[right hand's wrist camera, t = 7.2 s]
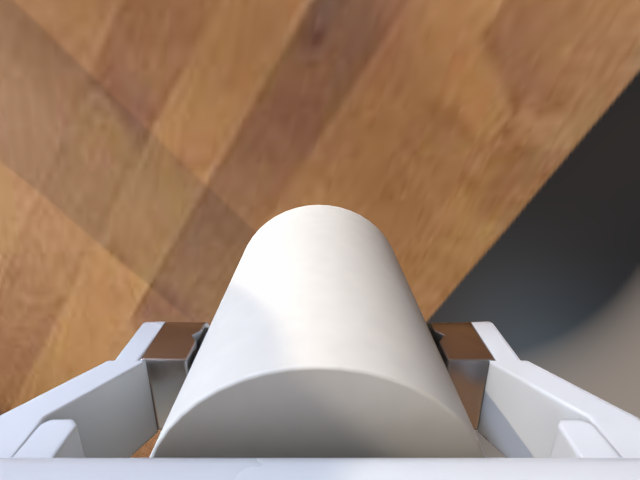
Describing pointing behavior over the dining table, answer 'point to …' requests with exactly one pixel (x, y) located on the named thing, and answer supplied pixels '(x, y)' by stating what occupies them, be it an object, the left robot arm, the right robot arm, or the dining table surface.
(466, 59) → the dining table surface
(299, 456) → the canister
